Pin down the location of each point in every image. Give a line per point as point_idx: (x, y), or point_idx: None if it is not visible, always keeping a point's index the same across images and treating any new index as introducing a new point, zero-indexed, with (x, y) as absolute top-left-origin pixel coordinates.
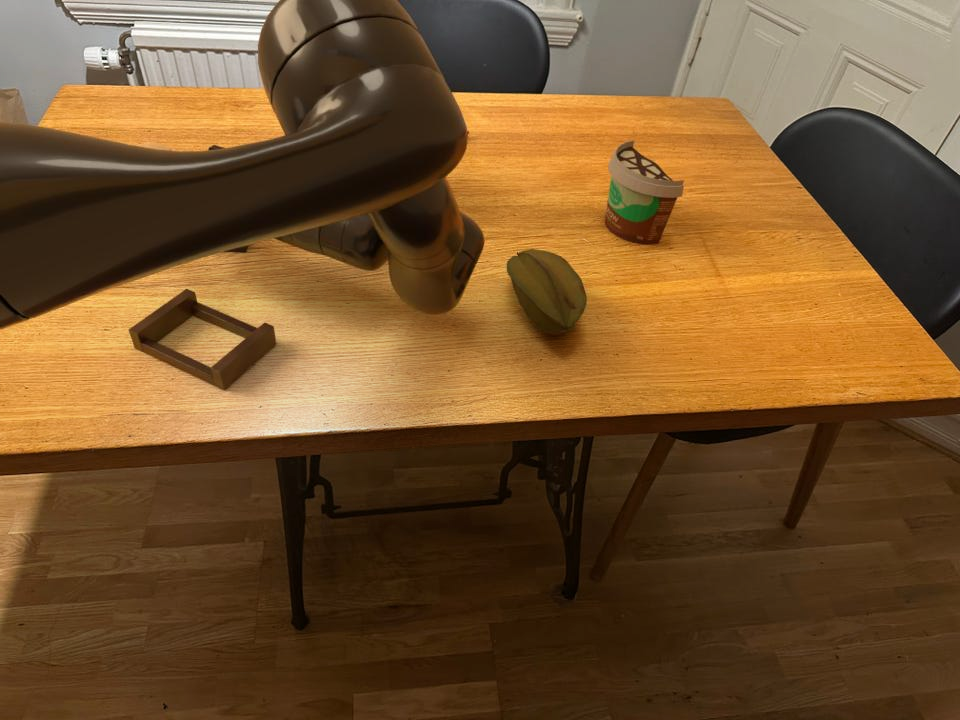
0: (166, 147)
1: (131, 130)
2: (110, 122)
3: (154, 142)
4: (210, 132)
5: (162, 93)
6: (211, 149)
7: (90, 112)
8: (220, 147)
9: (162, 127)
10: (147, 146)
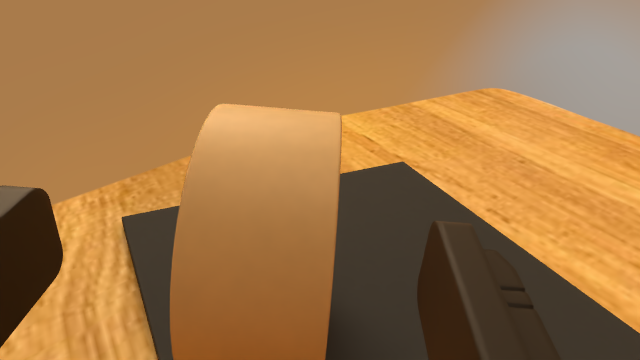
0: (335, 142)
1: (498, 148)
2: (485, 129)
3: (335, 116)
4: (630, 215)
5: (604, 132)
6: (435, 236)
7: (479, 111)
8: (478, 256)
9: (549, 166)
10: (300, 115)
